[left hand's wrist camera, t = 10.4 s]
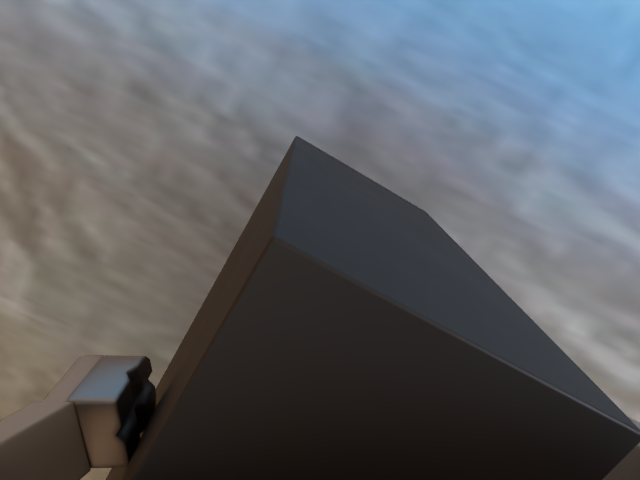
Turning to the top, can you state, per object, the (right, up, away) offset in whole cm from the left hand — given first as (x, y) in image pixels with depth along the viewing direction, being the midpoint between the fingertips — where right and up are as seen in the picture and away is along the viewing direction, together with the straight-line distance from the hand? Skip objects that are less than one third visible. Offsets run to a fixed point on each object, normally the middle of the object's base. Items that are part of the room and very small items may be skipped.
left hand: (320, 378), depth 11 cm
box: (-4, -4, +10) cm, 12 cm away
